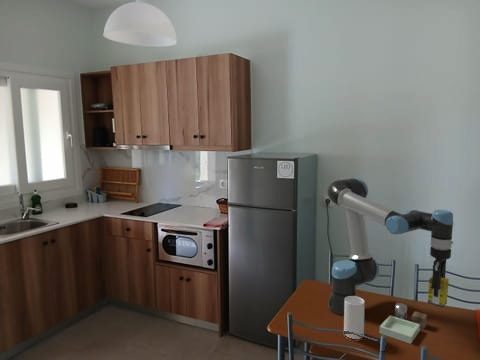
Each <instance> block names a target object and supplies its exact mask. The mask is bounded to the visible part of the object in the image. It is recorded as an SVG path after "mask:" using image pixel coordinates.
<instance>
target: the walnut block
mask: <svg viewBox="0 0 480 360" xmlns="http://www.w3.org/2000/svg"><path fill="white" fill-rule="evenodd" d="M427 314H428V313H427ZM427 314H426V313H422V312H419V311H414V312H413V313H412V315H411V322H414V323H417V324H420V329H421V330H424V329H425V328H426V327H427V325H428V323H427V322H428V320H427V319H428V315H427Z"/></svg>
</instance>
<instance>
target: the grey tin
mask: <svg viewBox="0 0 480 360" xmlns="http://www.w3.org/2000/svg"><path fill="white" fill-rule="evenodd" d="M394 307H395V308H394V317H397V318H400V319H404V320H407V319H408V317H407V316H408V305H407V304H405V303H401V302H396V303H395V306H394ZM407 321H408V320H407Z"/></svg>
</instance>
